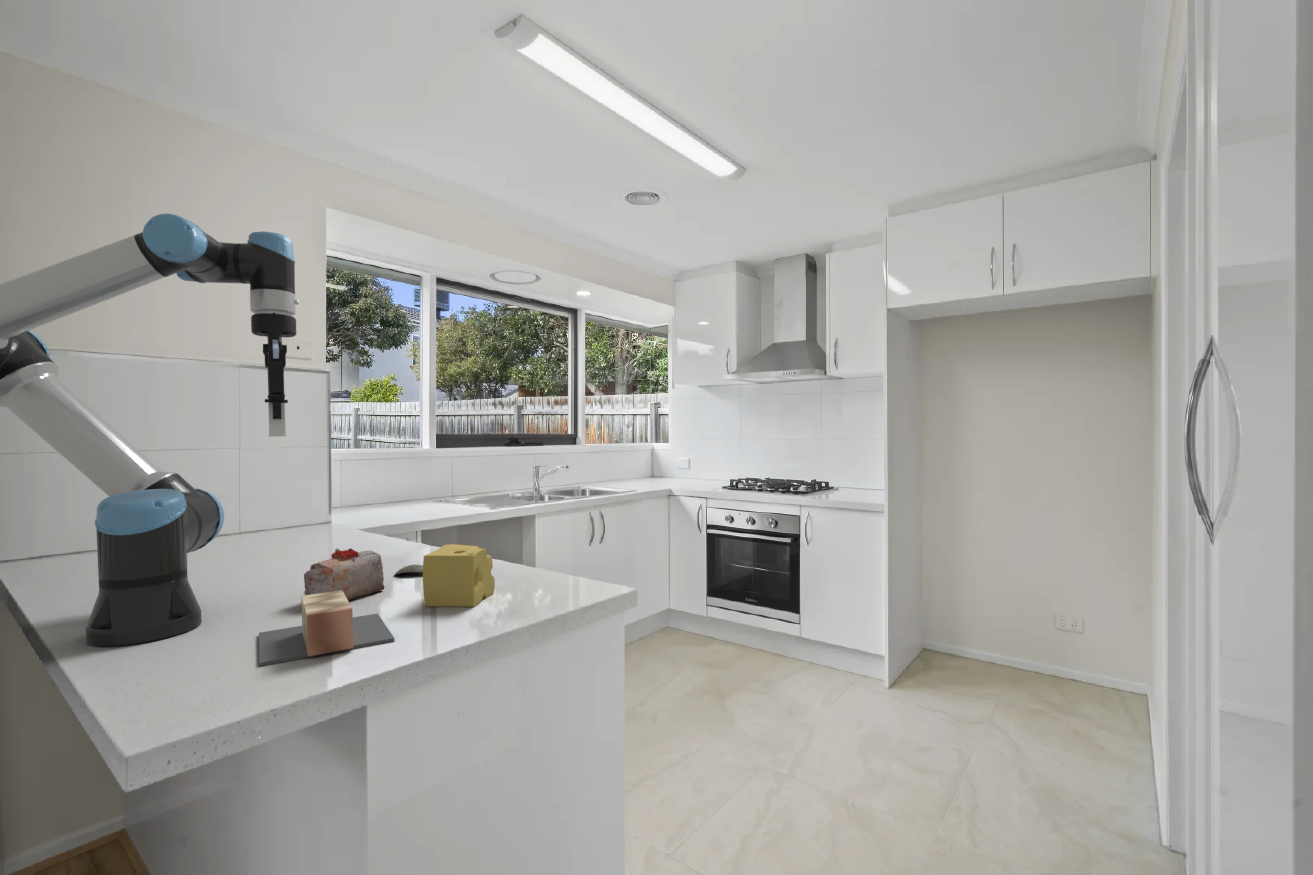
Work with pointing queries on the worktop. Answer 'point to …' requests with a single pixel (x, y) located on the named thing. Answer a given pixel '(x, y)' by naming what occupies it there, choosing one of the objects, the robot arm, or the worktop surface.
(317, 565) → the food item
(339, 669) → the worktop surface
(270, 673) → the worktop surface
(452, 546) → the cheese
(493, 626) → the worktop surface
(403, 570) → the soupspoon
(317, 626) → the block
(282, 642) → the mat
